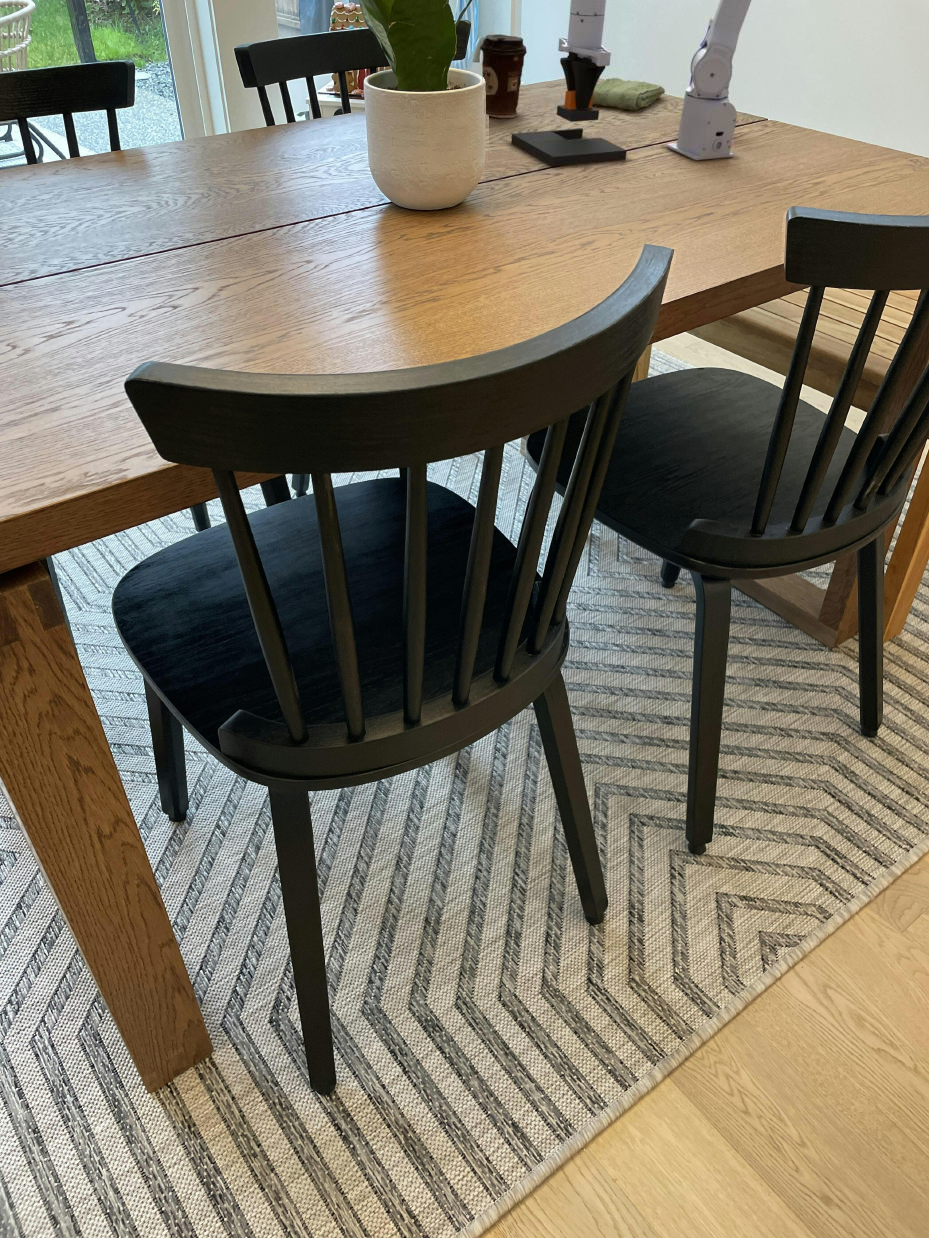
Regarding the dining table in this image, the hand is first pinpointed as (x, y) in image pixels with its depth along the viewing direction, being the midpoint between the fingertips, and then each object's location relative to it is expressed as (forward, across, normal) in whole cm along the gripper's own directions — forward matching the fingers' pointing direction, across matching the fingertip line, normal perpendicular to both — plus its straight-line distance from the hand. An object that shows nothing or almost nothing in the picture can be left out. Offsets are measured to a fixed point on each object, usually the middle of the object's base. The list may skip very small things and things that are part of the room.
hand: (578, 106), depth 160 cm
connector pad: (+2, 0, 0) cm, 2 cm away
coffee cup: (+6, -24, -4) cm, 25 cm away
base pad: (+6, +4, -4) cm, 8 cm away
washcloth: (+6, -28, +26) cm, 39 cm away
